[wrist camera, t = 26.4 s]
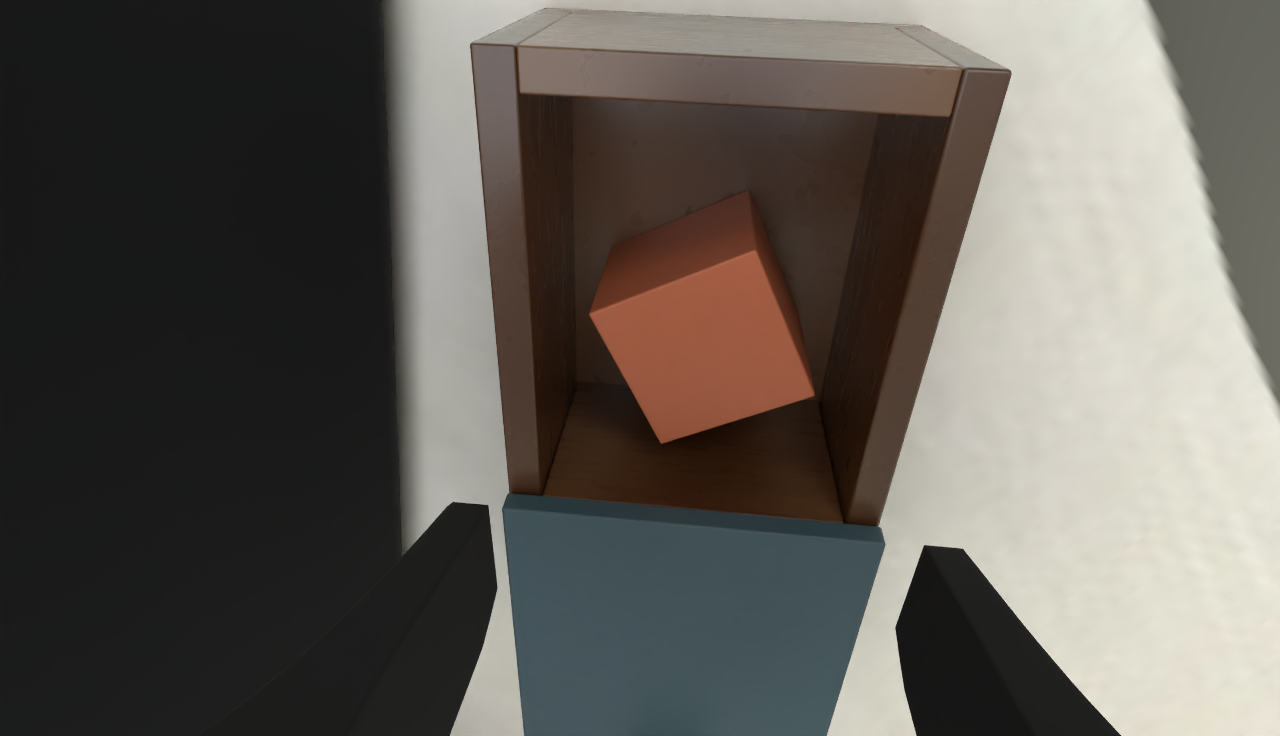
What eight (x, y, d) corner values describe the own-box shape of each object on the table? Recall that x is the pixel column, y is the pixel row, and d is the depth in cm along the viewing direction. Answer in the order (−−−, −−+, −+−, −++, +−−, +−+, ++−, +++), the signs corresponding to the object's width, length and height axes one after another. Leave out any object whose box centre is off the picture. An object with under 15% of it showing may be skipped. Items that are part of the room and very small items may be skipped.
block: (669, 361, 21) (660, 444, 18) (610, 246, 19) (587, 314, 16) (799, 316, 20) (815, 397, 16) (749, 188, 18) (756, 249, 15)
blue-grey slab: (530, 743, 23) (510, 829, 21) (507, 491, 17) (476, 574, 15) (807, 774, 23) (816, 866, 20) (881, 525, 17) (906, 616, 14)
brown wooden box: (557, 386, 23) (511, 517, 18) (543, 7, 17) (468, 43, 12) (837, 409, 22) (872, 550, 17) (923, 25, 16) (1015, 69, 11)
